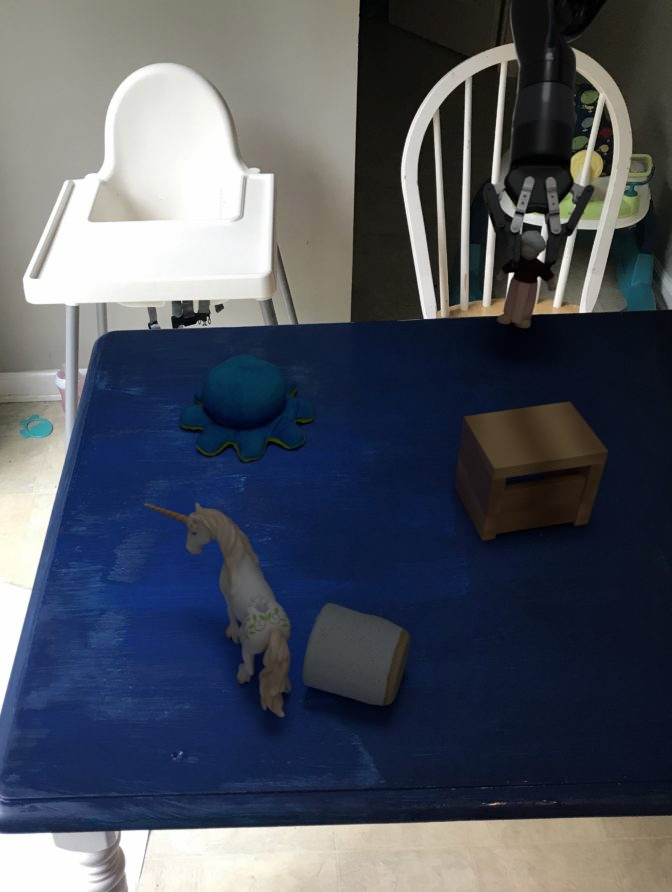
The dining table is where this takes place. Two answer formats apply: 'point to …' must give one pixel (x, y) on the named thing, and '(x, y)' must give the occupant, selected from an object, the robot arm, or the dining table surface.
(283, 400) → the plush toy
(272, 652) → the unicorn figurine
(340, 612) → the grey cylinder
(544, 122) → the robot arm
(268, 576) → the dining table surface
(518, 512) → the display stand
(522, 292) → the grandmother figurine
